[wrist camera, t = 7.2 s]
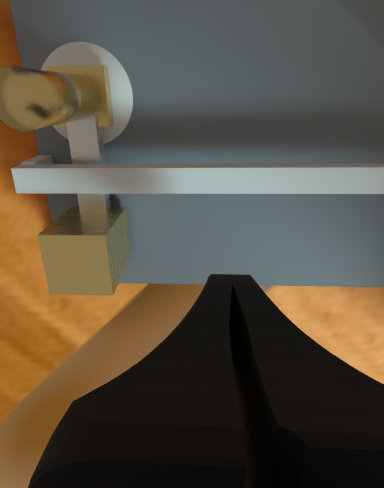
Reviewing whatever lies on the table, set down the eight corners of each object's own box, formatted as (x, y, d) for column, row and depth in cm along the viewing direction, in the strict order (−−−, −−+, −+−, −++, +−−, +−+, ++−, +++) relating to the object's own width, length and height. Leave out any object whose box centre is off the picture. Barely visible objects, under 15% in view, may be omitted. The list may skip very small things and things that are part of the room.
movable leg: (112, 66, 13) (58, 52, 9) (131, 257, 17) (99, 322, 12) (48, 67, 14) (-40, 54, 9) (79, 257, 17) (28, 321, 12)
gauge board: (538, -27, 13) (651, -68, 10) (440, 276, 18) (491, 317, 15) (21, -10, 14) (-38, -41, 11) (71, 271, 19) (42, 308, 16)
